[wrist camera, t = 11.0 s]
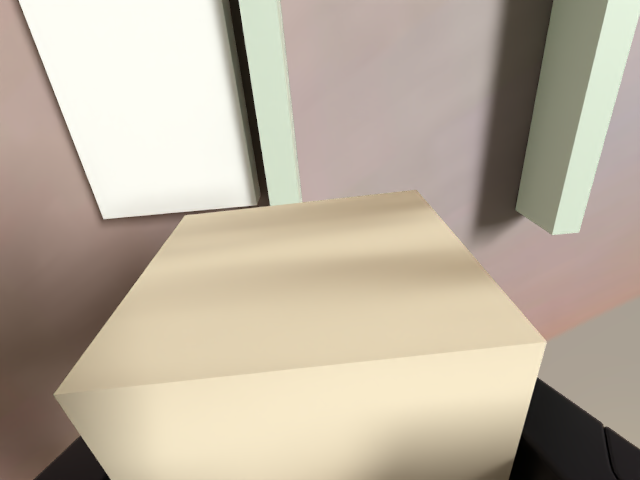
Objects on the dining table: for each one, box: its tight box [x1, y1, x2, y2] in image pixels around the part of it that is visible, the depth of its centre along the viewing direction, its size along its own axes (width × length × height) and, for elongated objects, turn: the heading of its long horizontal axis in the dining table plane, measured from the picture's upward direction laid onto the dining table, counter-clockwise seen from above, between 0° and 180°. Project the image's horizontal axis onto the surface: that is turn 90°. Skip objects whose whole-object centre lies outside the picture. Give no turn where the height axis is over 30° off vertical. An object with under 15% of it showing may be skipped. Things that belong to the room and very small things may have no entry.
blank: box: [53, 190, 547, 480], centre depth 7 cm, size 8×5×4 cm, turn 6°
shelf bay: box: [239, 0, 640, 235], centre depth 13 cm, size 16×13×3 cm
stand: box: [19, 0, 261, 219], centre depth 14 cm, size 10×7×2 cm
